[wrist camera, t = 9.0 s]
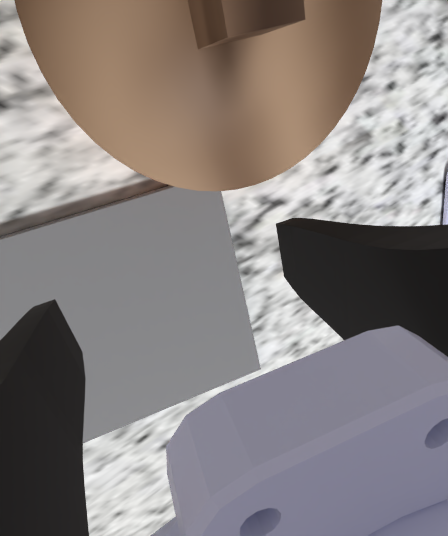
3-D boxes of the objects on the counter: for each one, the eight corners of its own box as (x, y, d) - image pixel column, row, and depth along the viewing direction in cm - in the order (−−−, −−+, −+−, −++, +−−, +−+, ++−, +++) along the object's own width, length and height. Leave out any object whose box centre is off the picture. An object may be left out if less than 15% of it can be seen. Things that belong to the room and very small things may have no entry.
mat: (214, 172, 21) (217, 174, 21) (257, 364, 28) (260, 369, 28) (-67, 256, 19) (-71, 261, 18) (59, 445, 26) (59, 453, 25)
